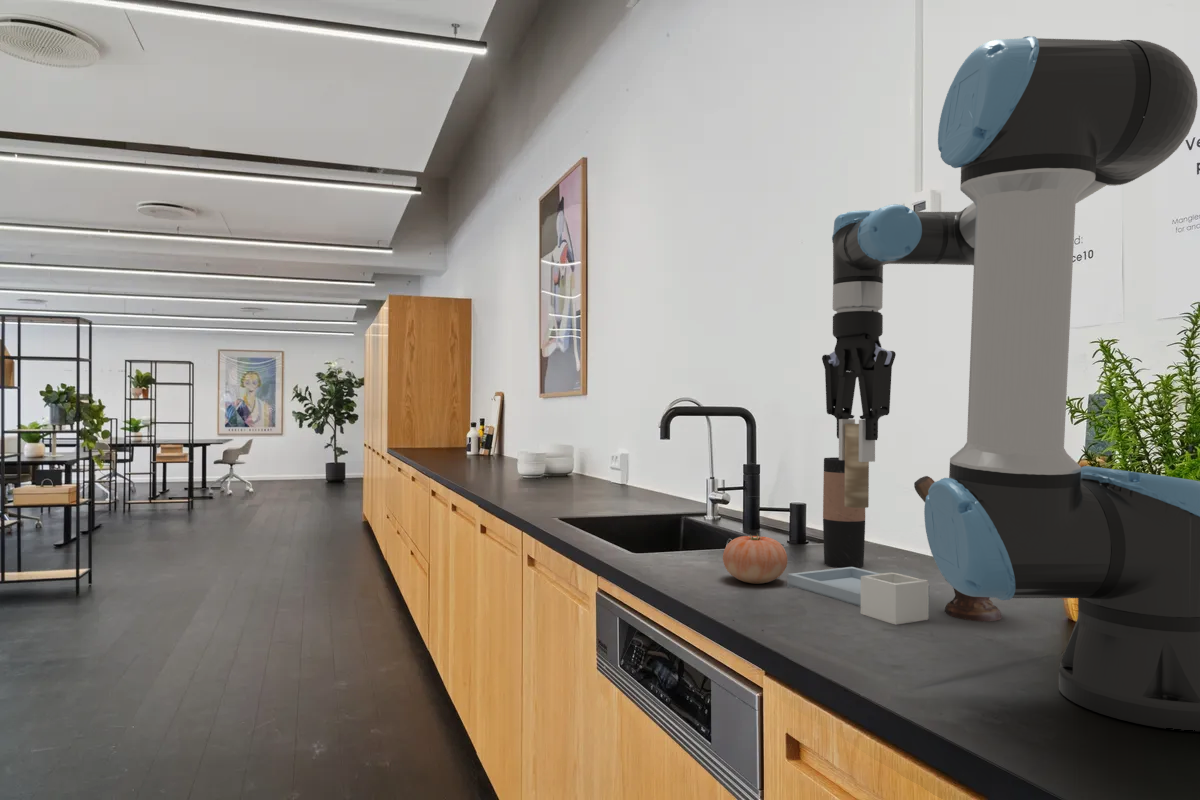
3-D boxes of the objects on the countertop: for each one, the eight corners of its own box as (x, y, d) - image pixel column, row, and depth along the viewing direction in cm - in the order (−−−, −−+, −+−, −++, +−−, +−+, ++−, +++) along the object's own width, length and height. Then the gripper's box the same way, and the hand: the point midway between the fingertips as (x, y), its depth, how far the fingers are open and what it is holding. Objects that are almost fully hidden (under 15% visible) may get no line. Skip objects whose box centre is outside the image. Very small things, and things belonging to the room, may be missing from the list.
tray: (929, 602, 121) (929, 585, 122) (861, 612, 115) (861, 594, 115) (851, 581, 136) (851, 566, 136) (787, 589, 129) (787, 573, 129)
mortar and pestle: (945, 631, 106) (945, 480, 106) (905, 614, 114) (906, 474, 114) (1019, 626, 108) (1020, 478, 109) (975, 610, 117) (976, 473, 117)
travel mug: (814, 564, 151) (815, 458, 151) (836, 559, 156) (836, 456, 156) (851, 570, 145) (852, 460, 145) (872, 565, 150) (873, 458, 151)
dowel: (873, 507, 125) (874, 424, 125) (856, 508, 123) (857, 424, 123) (856, 504, 128) (857, 423, 128) (839, 505, 126) (840, 423, 127)
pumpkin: (711, 583, 134) (712, 535, 134) (738, 572, 143) (738, 527, 143) (773, 591, 128) (773, 541, 128) (796, 580, 137) (797, 533, 137)
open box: (928, 625, 108) (928, 580, 108) (895, 630, 106) (895, 585, 106) (892, 614, 114) (892, 572, 114) (860, 619, 111) (860, 576, 111)
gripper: (917, 308, 120) (916, 463, 120) (837, 318, 135) (836, 457, 135) (880, 304, 117) (879, 464, 117) (803, 315, 132) (802, 458, 131)
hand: (856, 460), depth 126 cm, fingers closed on dowel, 3 cm apart
